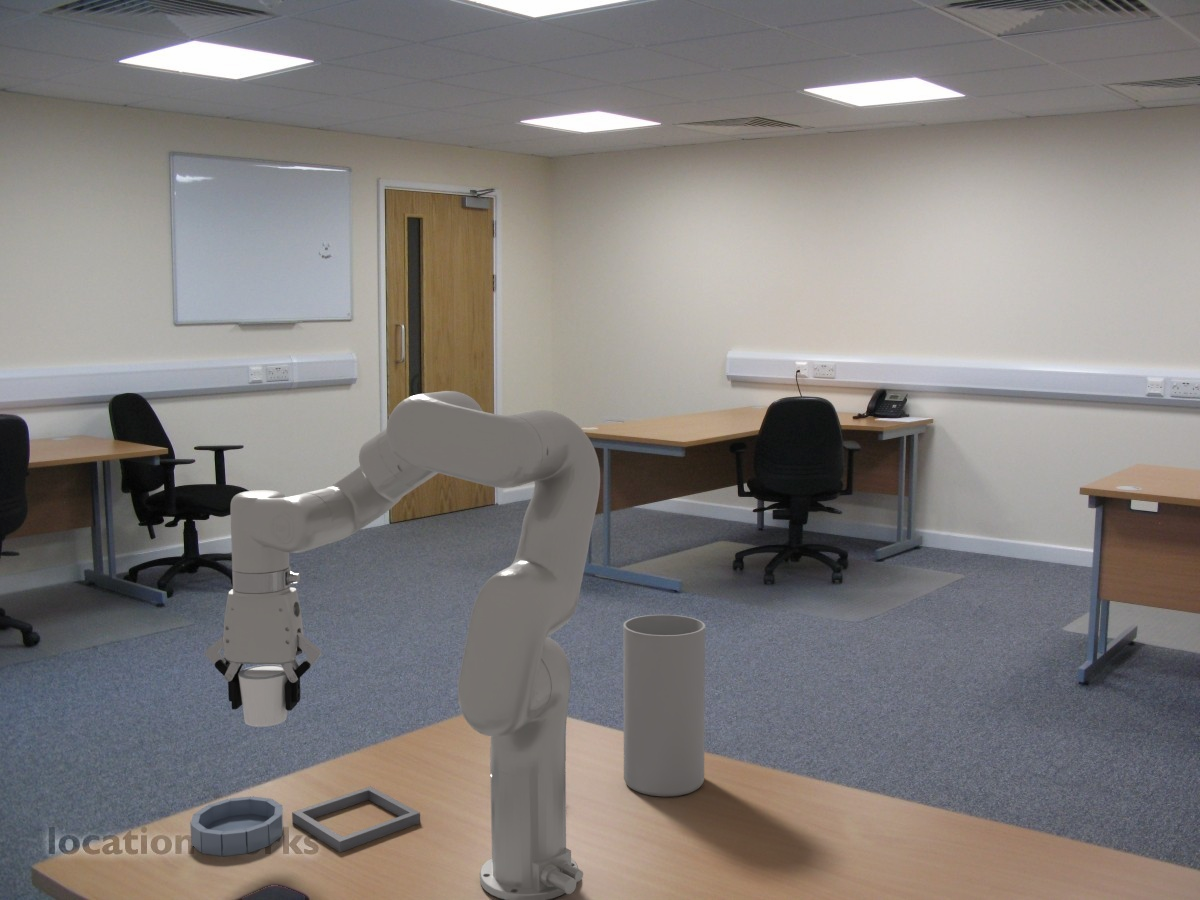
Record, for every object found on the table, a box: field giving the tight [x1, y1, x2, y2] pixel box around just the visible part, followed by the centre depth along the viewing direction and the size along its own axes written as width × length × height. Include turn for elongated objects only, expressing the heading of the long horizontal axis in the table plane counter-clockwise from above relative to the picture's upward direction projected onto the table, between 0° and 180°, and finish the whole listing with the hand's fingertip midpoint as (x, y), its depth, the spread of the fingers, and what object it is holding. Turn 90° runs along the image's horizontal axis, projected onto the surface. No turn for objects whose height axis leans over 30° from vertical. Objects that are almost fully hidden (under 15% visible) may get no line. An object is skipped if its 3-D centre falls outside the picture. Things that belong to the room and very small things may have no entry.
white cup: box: [238, 664, 288, 728], centre depth 154 cm, size 7×7×7 cm
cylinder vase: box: [622, 614, 706, 798], centre depth 171 cm, size 12×12×25 cm
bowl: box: [190, 795, 284, 857], centre depth 154 cm, size 12×12×3 cm
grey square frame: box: [291, 785, 421, 853], centre depth 158 cm, size 13×13×2 cm
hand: (264, 705), depth 154 cm, fingers closed on white cup, 6 cm apart
